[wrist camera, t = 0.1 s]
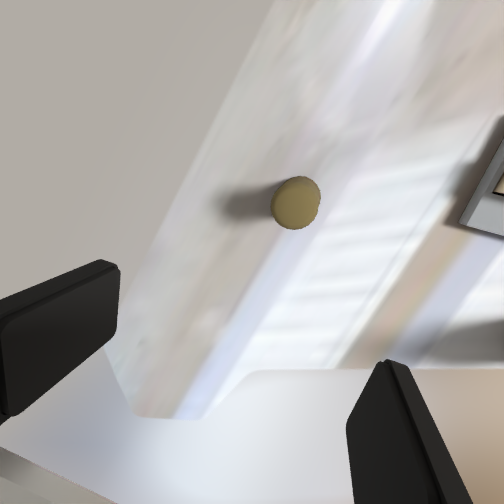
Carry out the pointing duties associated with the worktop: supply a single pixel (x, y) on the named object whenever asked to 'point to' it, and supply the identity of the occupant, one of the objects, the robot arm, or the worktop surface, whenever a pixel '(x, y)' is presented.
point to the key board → (487, 199)
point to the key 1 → (500, 185)
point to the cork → (296, 203)
